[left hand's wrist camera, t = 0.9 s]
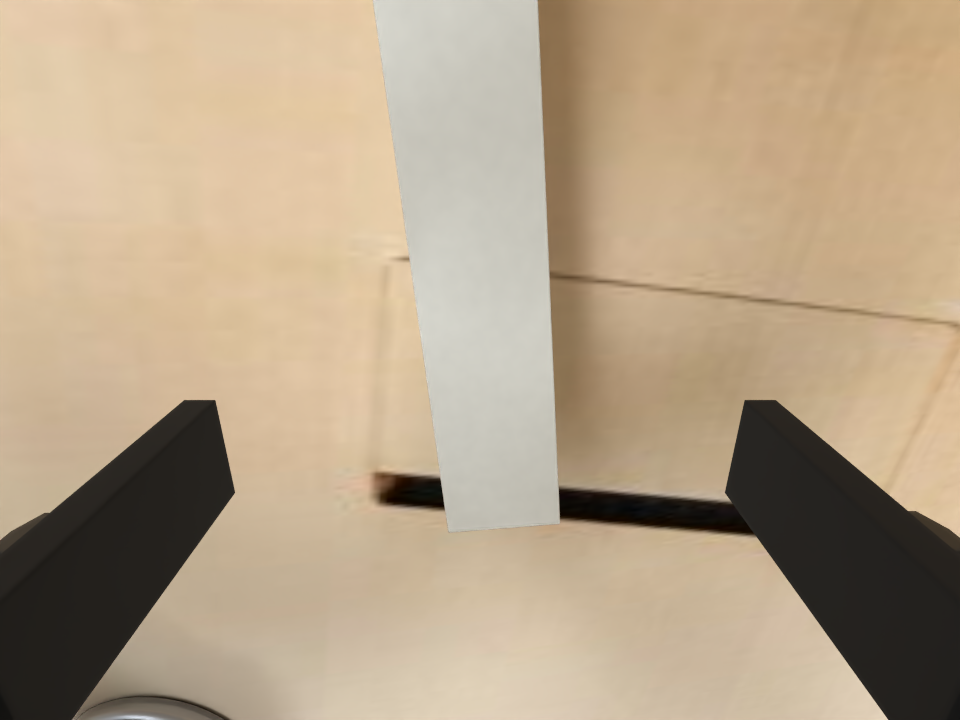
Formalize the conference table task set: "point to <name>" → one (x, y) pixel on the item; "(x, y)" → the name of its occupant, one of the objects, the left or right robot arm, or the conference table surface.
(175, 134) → the conference table surface
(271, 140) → the conference table surface
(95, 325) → the conference table surface
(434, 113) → the post
